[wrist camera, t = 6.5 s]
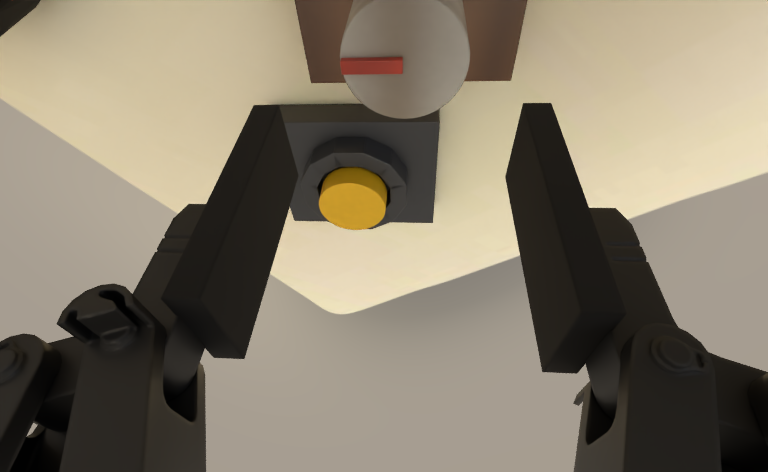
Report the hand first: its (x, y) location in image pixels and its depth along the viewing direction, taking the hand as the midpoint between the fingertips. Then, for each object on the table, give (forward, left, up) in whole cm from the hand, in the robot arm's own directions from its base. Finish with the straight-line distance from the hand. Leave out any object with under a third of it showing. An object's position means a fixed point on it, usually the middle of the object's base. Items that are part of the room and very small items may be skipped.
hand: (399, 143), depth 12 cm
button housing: (+4, +13, -15) cm, 20 cm away
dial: (0, 0, -12) cm, 12 cm away
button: (+4, +13, -11) cm, 18 cm away
